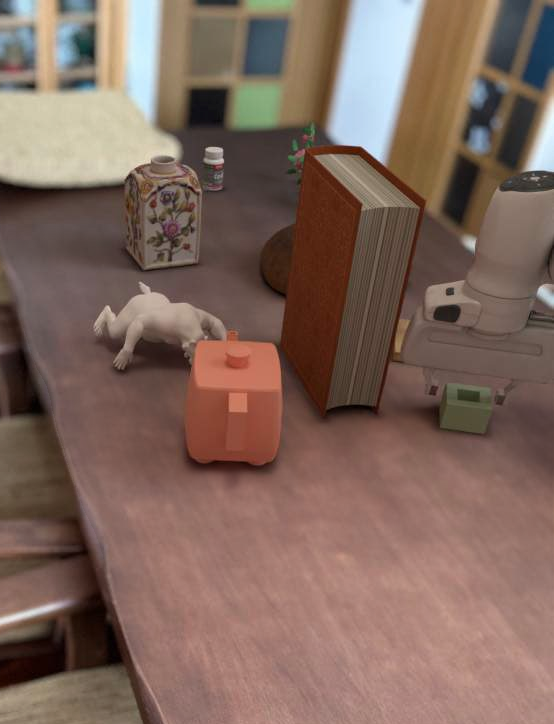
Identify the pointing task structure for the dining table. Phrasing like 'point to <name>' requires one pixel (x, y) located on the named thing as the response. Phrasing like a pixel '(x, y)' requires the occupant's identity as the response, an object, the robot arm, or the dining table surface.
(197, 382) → the teapot
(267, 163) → the dining table surface
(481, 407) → the green hollow square block
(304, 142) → the flower vase
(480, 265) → the robot arm
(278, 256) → the bread
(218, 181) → the pill bottle
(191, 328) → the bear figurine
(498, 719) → the dining table surface
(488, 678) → the dining table surface
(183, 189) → the decorative jar
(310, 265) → the book
